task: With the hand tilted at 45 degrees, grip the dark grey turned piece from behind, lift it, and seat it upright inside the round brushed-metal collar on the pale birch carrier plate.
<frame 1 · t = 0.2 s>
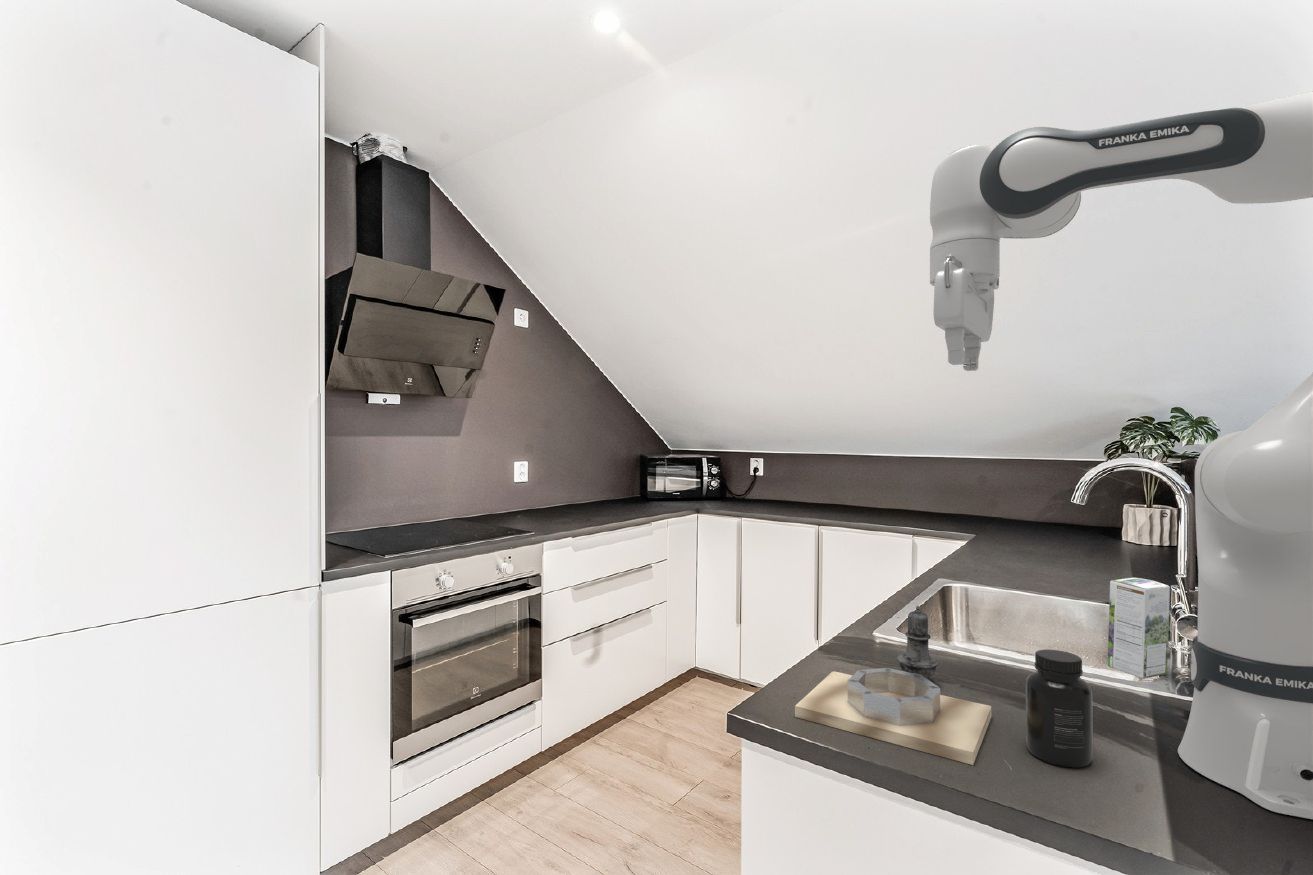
hand: (963, 367, 90), 48 cm above the worktop, tool pointing down, fingers open, 8 cm apart
carrier plate: (893, 716, 88), on the worktop
supplement bottle: (1058, 756, 78), on the worktop
metal collar: (893, 695, 88), on the carrier plate, point 3 cm above the worktop
dark grey turned piece: (917, 684, 99), on the worktop
syrup box: (1137, 672, 104), on the worktop
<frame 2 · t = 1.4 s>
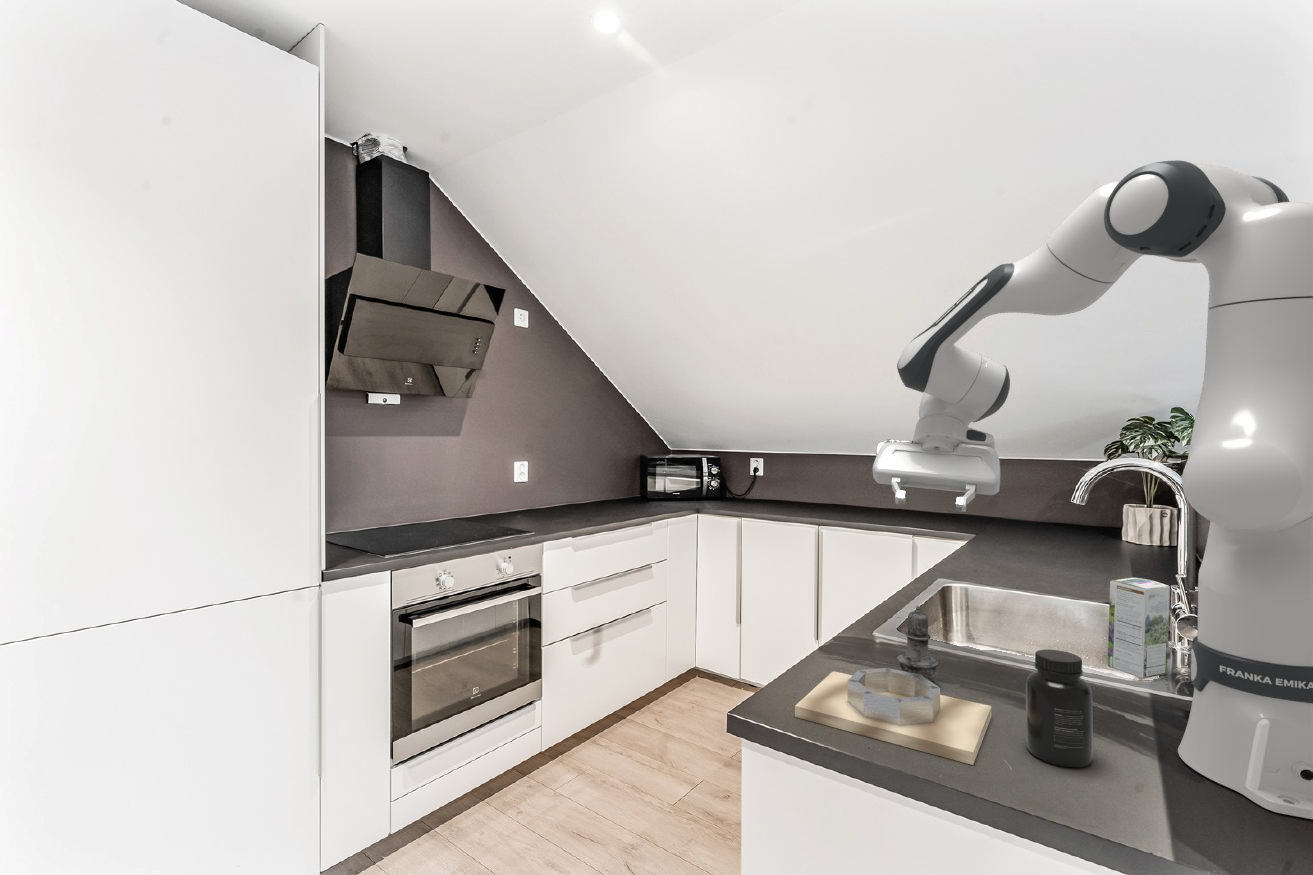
hand: (929, 505, 108), 26 cm above the worktop, tool tilted 45°, fingers open, 8 cm apart
nothing on the worktop moved.
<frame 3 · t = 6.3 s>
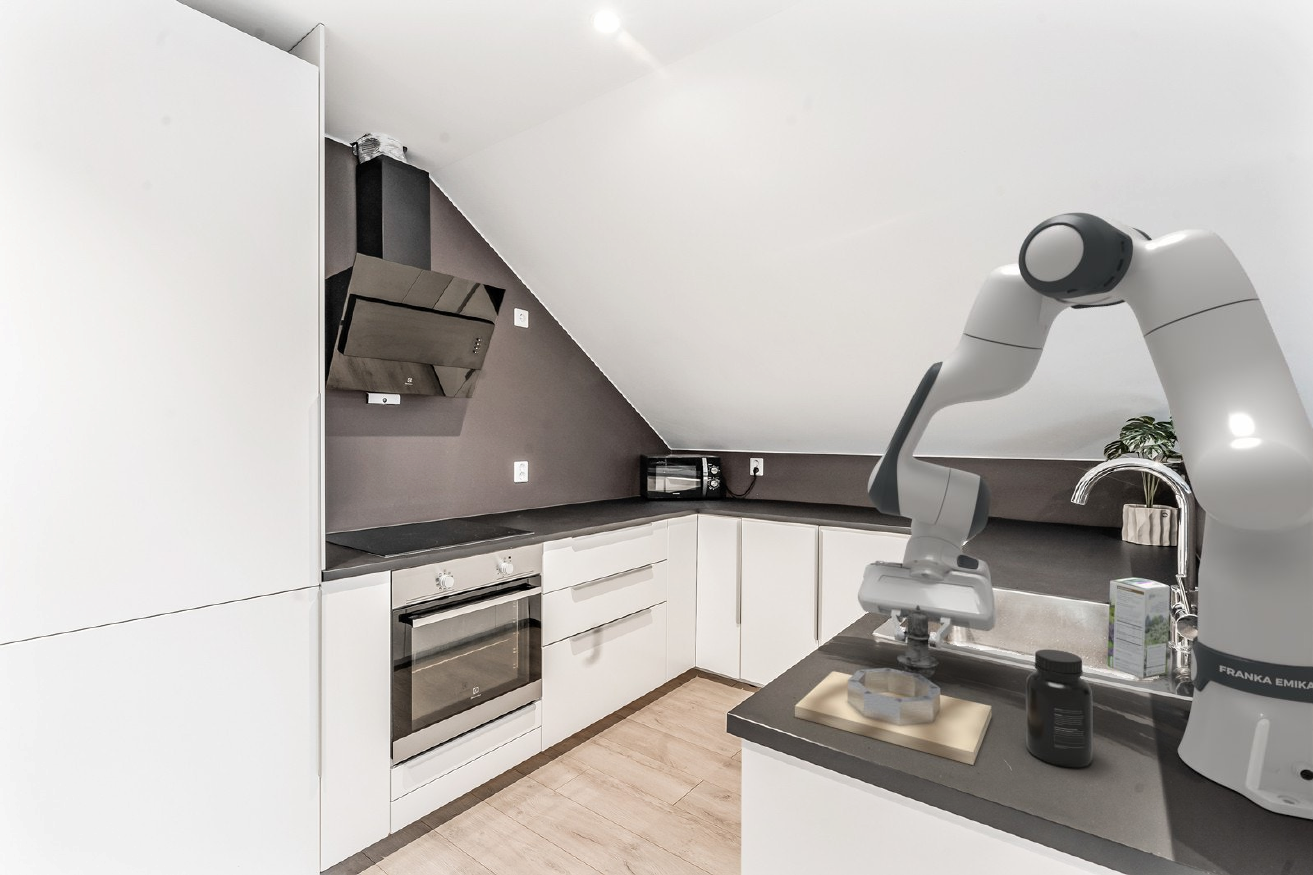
hand: (916, 642, 98), 6 cm above the worktop, tool tilted 45°, fingers closed on dark grey turned piece, 4 cm apart
dark grey turned piece: (917, 684, 99), on the worktop, touching gripper
everything else where it was.
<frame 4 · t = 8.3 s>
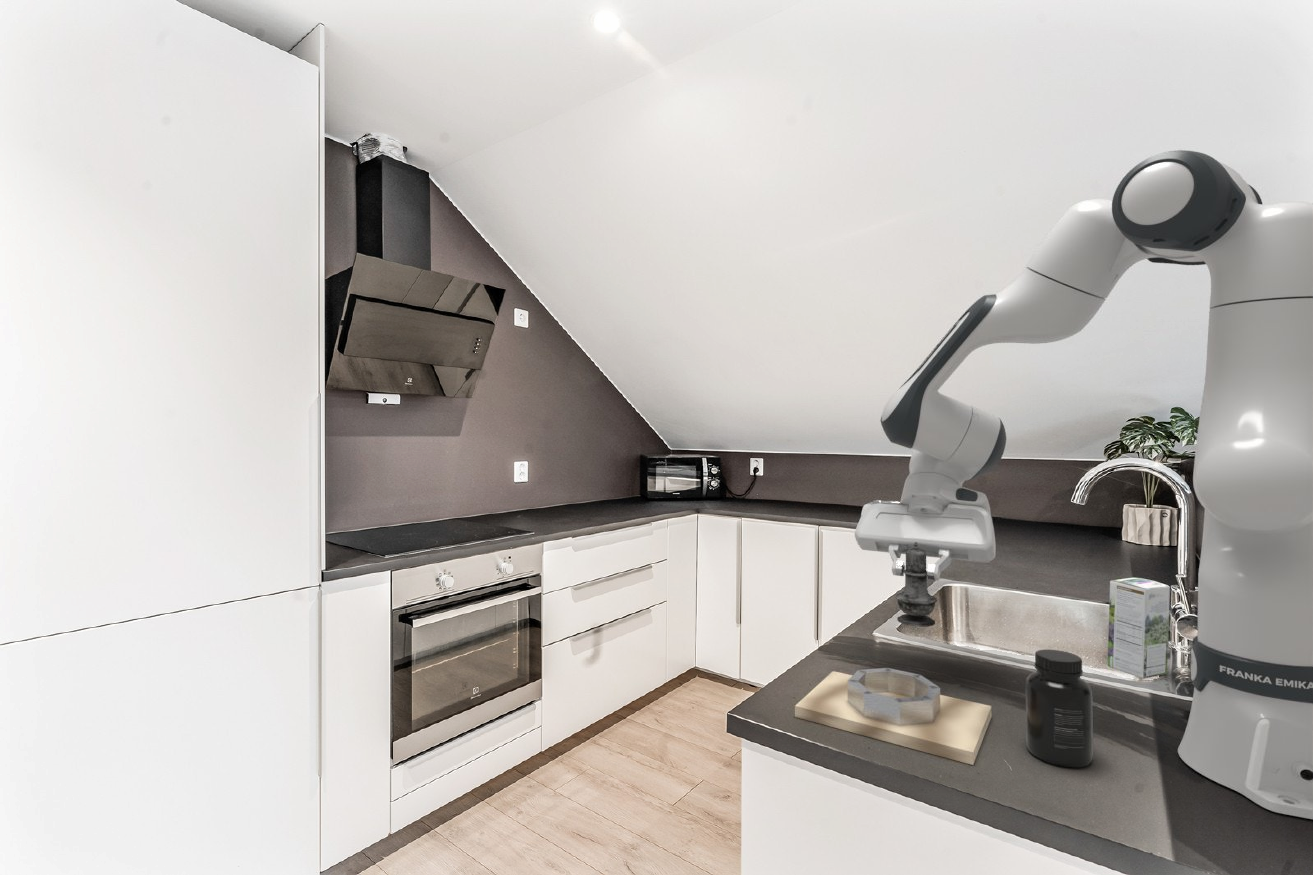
hand: (914, 575, 96), 17 cm above the worktop, tool tilted 45°, fingers closed on dark grey turned piece, 4 cm apart
dark grey turned piece: (916, 622, 97), point 10 cm above the worktop, touching gripper
everything else where it was.
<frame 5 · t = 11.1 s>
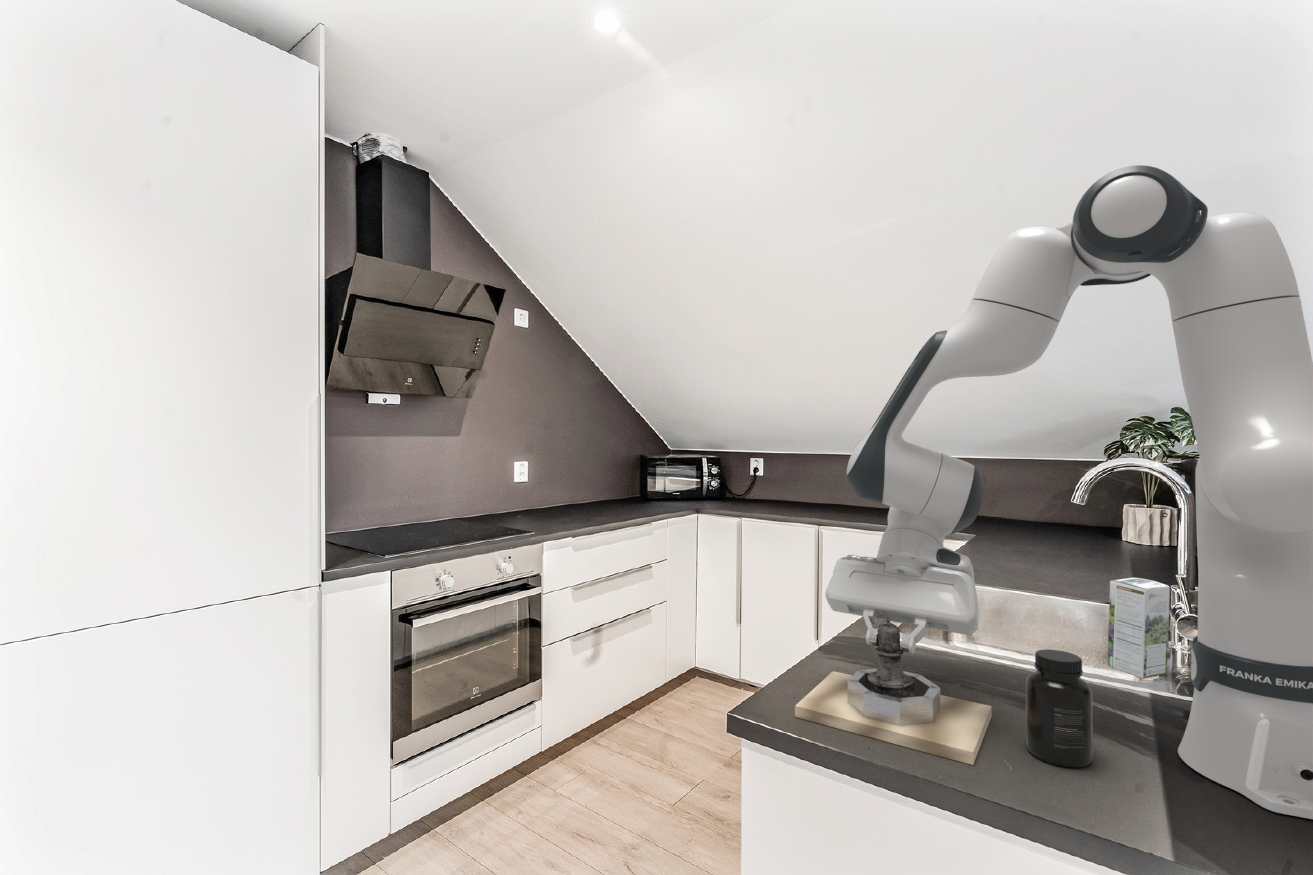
hand: (888, 647, 87), 10 cm above the worktop, tool tilted 45°, fingers closed on dark grey turned piece, 3 cm apart
dark grey turned piece: (891, 706, 88), point 1 cm above the worktop, touching carrier plate, gripper
everything else where it was.
when the fingers open (10 cm above the worktop, at t = 11.6 s): dark grey turned piece stays where it is, resting on carrier plate.
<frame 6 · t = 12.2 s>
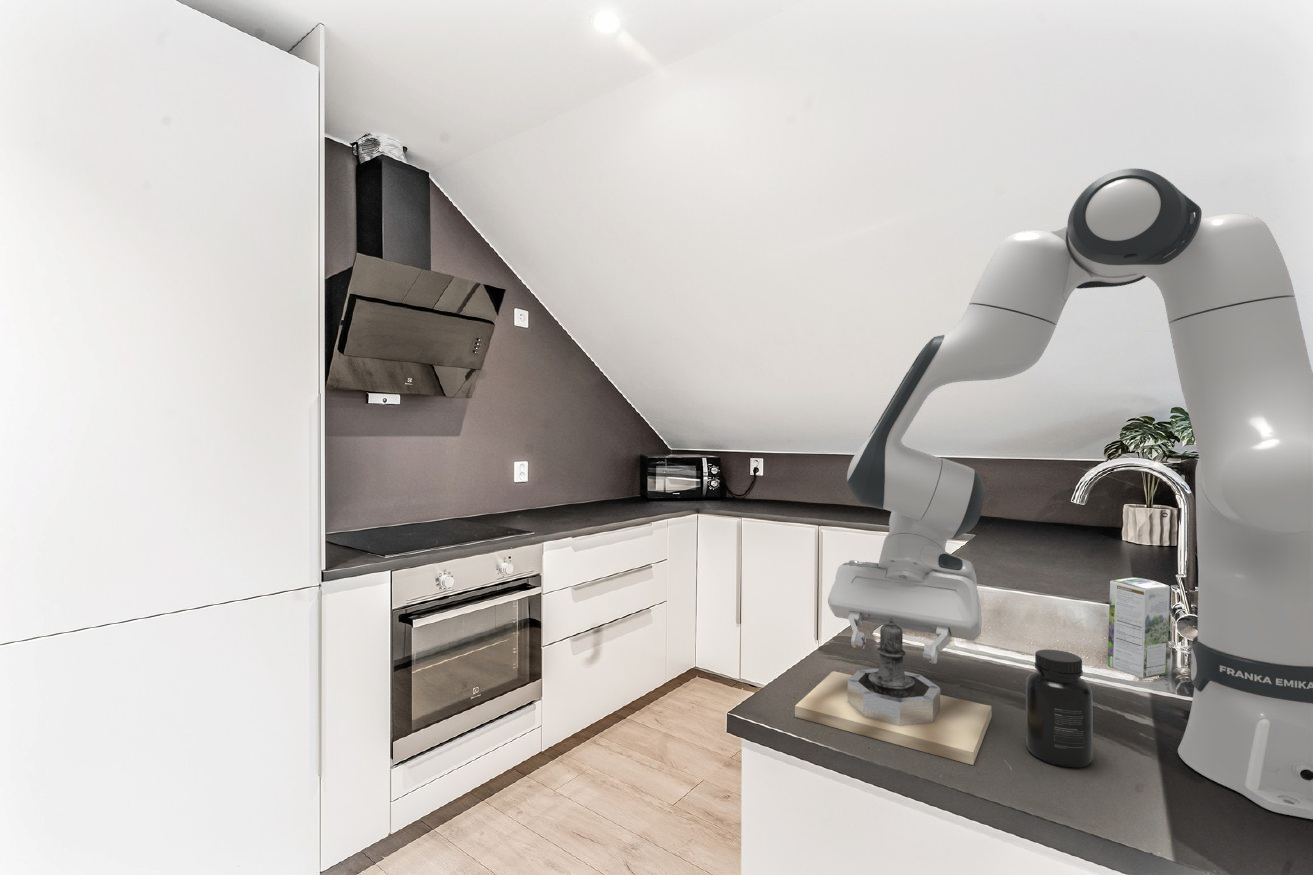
hand: (892, 653, 87), 9 cm above the worktop, tool tilted 45°, fingers open, 8 cm apart
dark grey turned piece: (891, 706, 88), point 1 cm above the worktop, touching carrier plate
everything else where it was.
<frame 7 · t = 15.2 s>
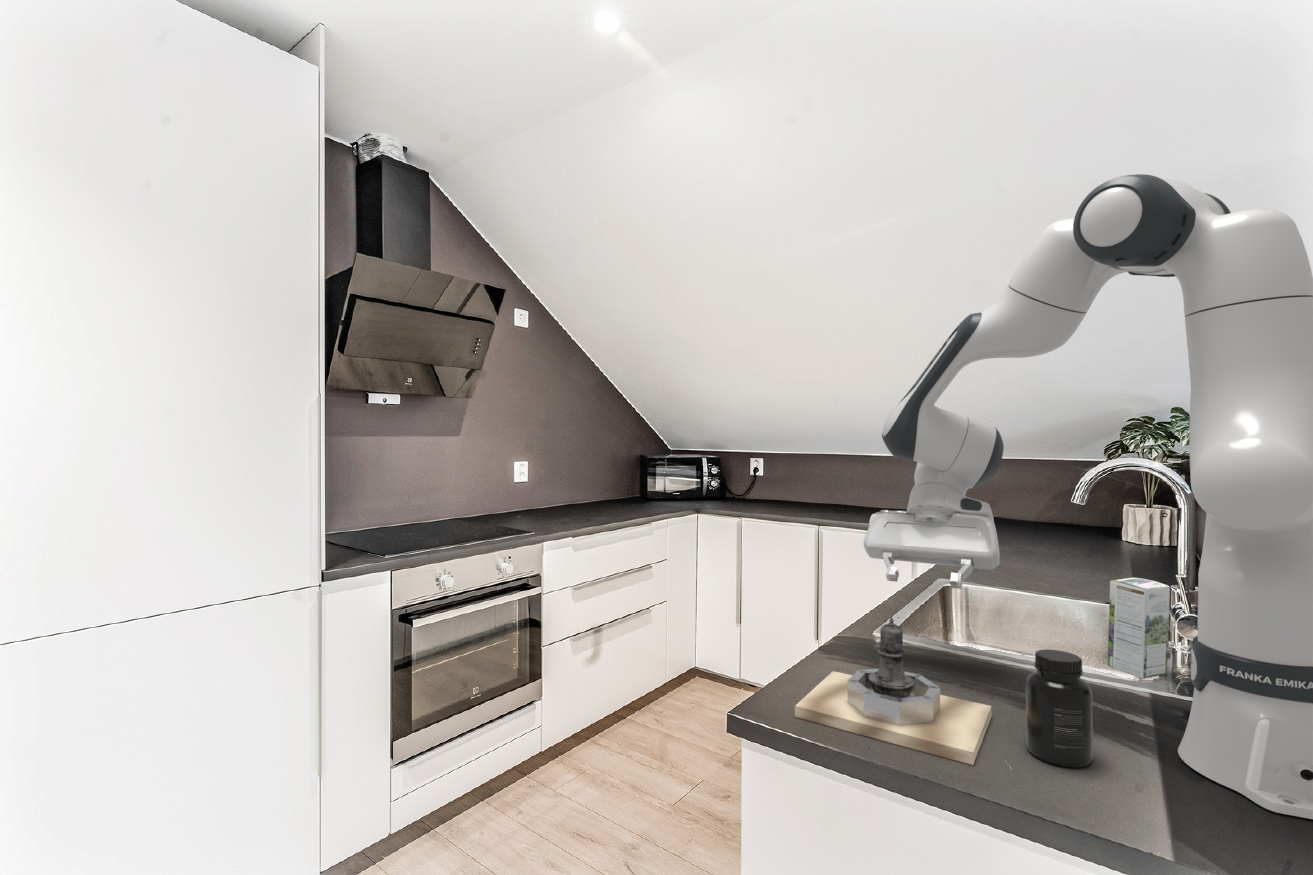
hand: (922, 582, 100), 15 cm above the worktop, tool tilted 45°, fingers open, 8 cm apart
nothing on the worktop moved.
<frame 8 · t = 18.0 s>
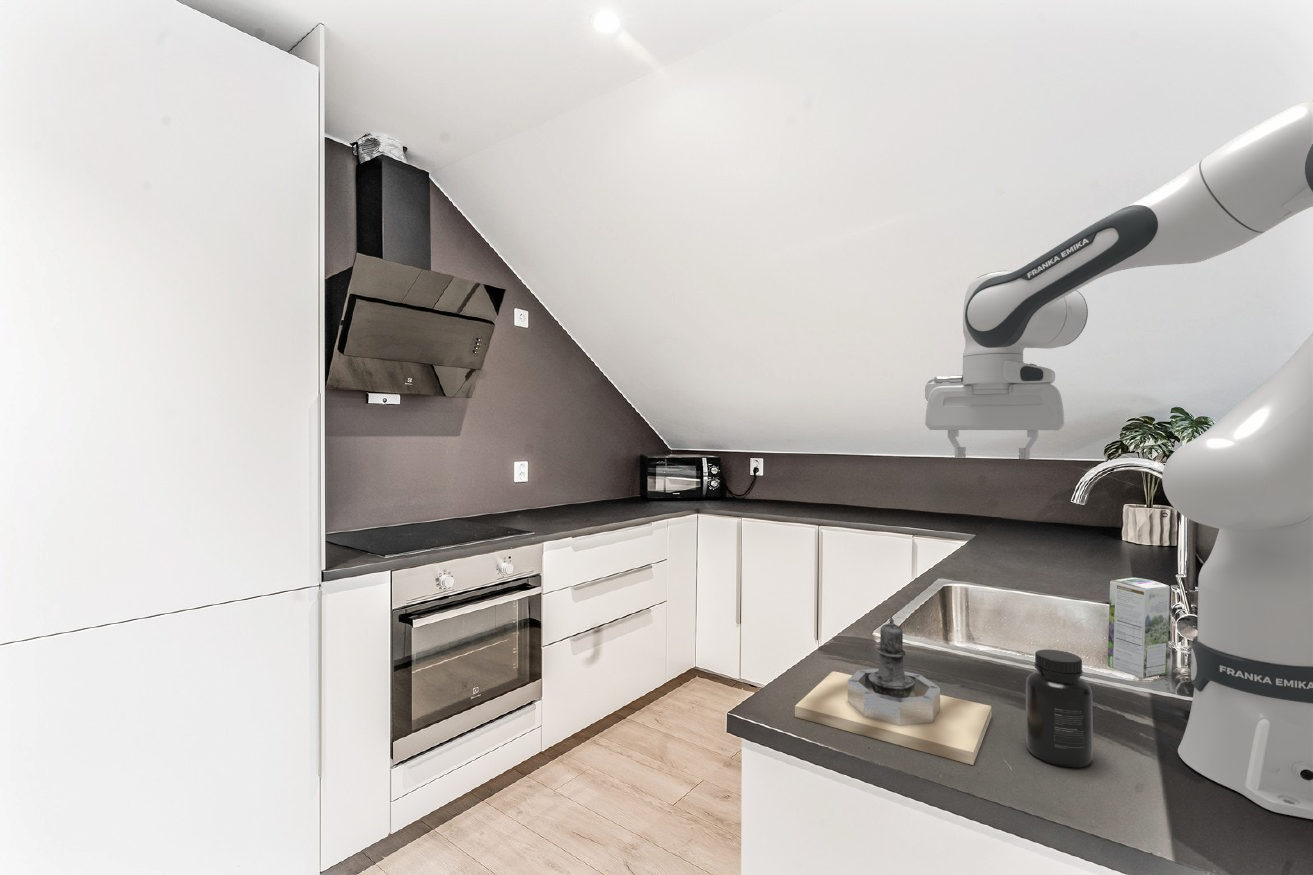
hand: (991, 458, 106), 34 cm above the worktop, tool pointing down, fingers open, 8 cm apart
nothing on the worktop moved.
at the end: dark grey turned piece 0.3 cm off-centre on the carrier plate, point 1.3 cm above the carrier plate's base; dark grey turned piece tilted 0°; the gripper is holding nothing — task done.
